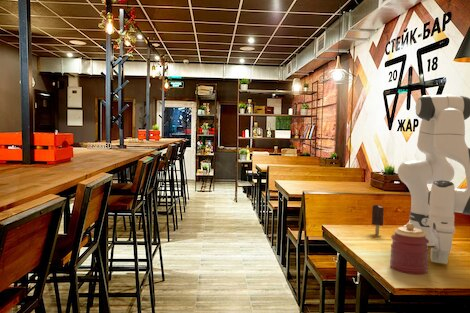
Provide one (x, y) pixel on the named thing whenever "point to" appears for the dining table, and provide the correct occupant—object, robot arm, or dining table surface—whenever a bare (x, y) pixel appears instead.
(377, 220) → the ice cream bar
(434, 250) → the sage block
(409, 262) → the canister
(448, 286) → the dining table surface
